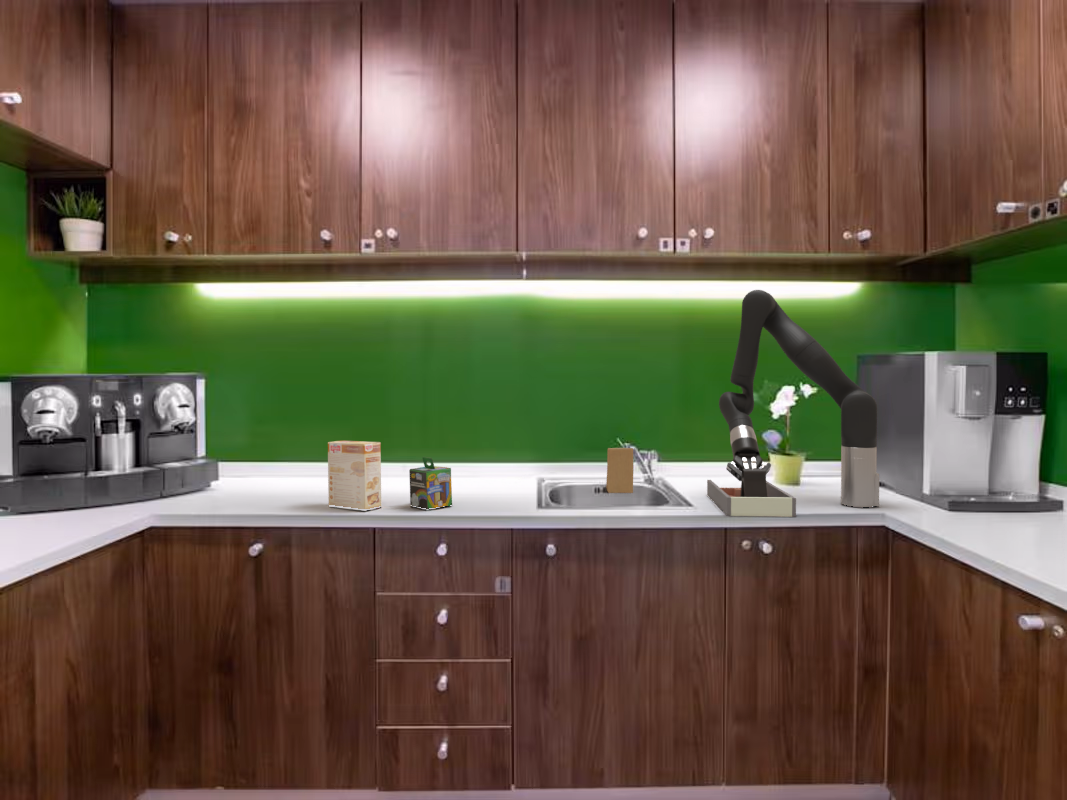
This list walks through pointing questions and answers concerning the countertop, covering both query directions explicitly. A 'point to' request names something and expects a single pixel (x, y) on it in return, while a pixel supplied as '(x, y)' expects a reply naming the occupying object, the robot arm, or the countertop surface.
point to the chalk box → (430, 486)
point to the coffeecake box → (354, 474)
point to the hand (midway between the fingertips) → (753, 491)
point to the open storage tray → (752, 502)
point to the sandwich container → (620, 470)
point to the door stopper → (753, 483)
